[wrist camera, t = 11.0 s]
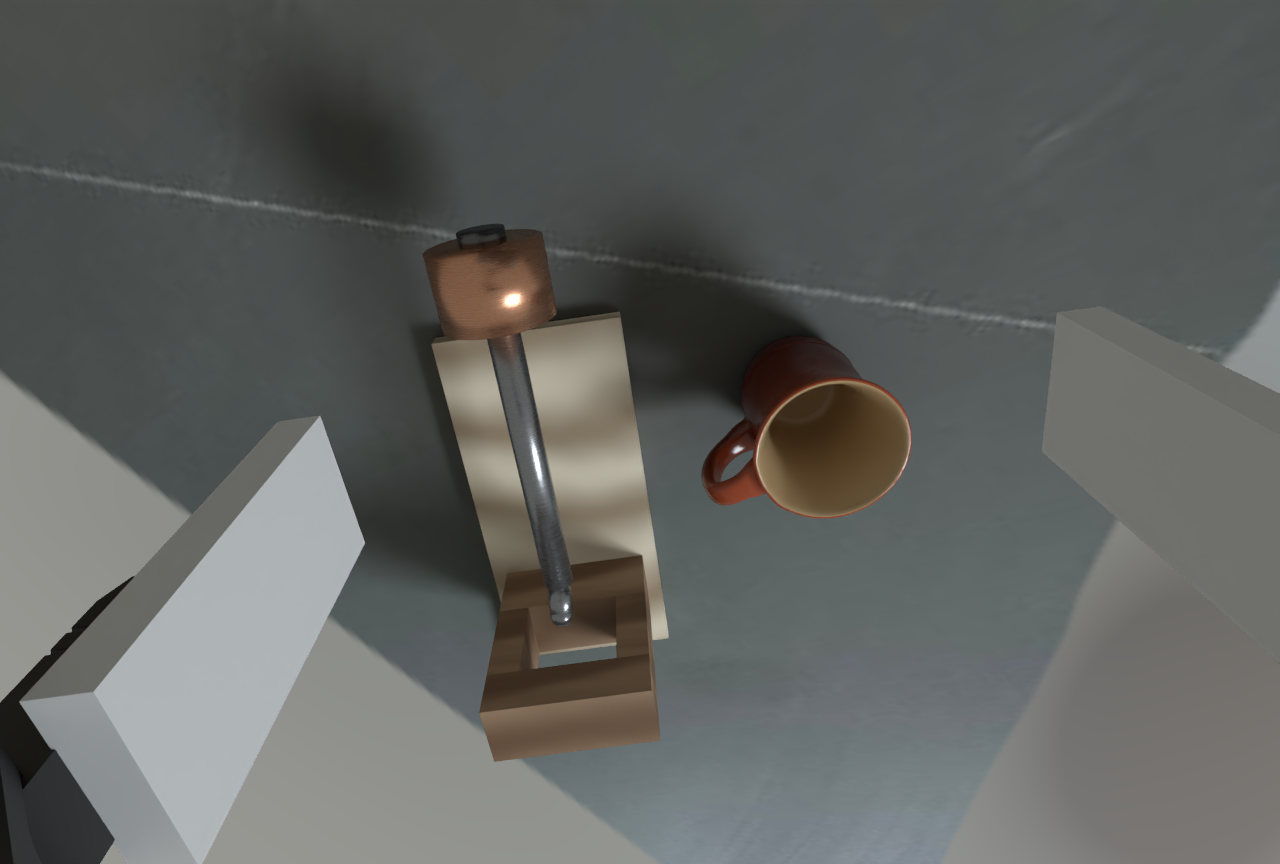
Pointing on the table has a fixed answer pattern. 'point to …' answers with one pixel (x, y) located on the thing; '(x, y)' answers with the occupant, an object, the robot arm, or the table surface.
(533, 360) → the board
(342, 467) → the table surface
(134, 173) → the table surface
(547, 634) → the eye block
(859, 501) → the mug
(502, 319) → the copper and grey mallet
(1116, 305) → the table surface
